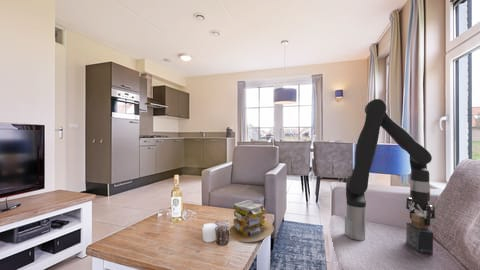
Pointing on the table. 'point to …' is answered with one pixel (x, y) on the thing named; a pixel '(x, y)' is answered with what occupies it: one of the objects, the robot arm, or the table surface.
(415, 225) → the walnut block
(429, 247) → the small box
